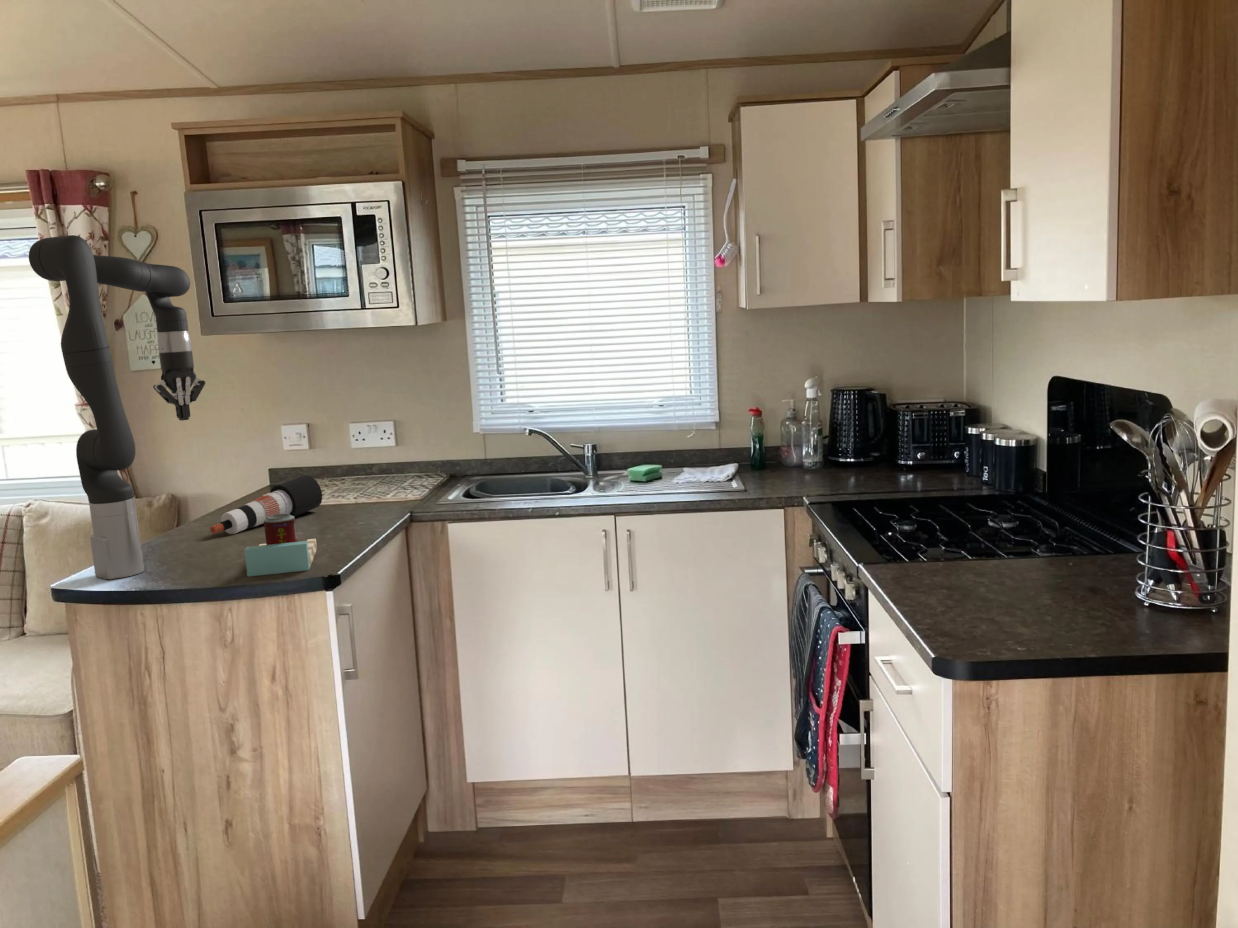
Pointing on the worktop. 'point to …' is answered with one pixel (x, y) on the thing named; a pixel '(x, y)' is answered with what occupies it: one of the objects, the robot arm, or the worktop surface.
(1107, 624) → the worktop surface
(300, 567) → the block
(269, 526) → the soda can
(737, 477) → the worktop surface
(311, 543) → the guide rails
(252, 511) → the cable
